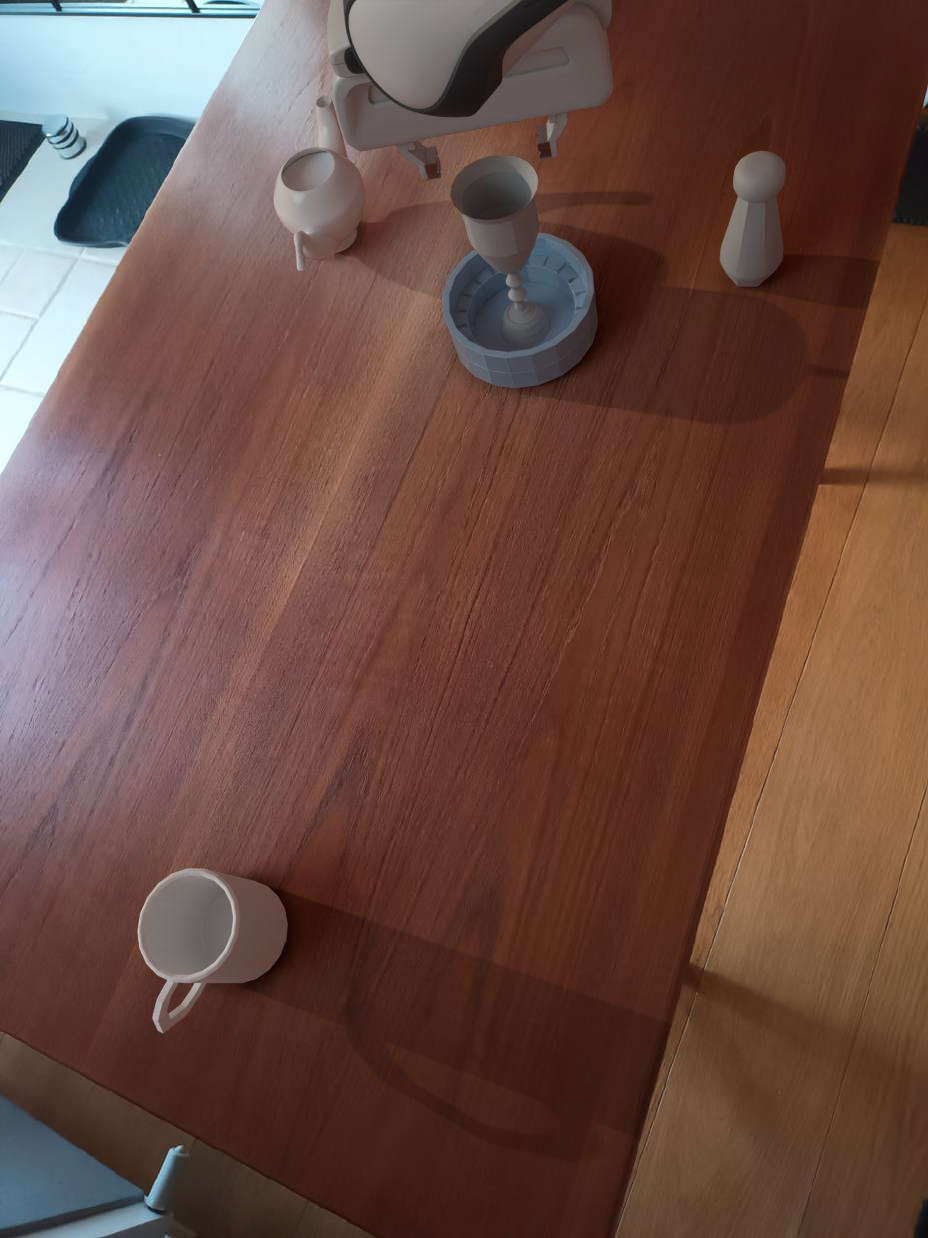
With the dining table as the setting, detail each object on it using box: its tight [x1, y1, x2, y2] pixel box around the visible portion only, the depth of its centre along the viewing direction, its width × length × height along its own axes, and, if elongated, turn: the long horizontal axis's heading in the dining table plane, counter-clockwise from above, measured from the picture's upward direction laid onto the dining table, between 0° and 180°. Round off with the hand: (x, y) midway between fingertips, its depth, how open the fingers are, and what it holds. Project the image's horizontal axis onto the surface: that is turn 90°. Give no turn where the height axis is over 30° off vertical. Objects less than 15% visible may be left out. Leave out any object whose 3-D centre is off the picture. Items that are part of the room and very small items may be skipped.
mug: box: [137, 867, 289, 1034], centre depth 74 cm, size 8×12×10 cm, turn 159°
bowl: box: [441, 232, 599, 389], centre depth 92 cm, size 14×14×6 cm
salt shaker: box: [719, 150, 787, 288], centre depth 86 cm, size 6×6×13 cm
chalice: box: [449, 154, 550, 348], centre depth 86 cm, size 7×7×18 cm
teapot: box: [272, 95, 366, 272], centre depth 100 cm, size 10×20×9 cm, turn 173°
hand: (489, 162), depth 76 cm, fingers open, 8 cm apart
